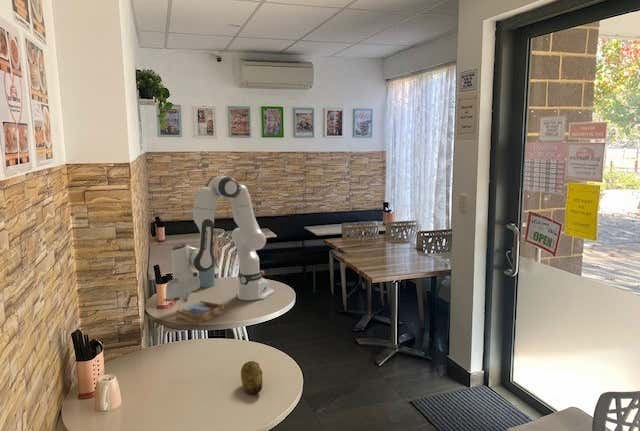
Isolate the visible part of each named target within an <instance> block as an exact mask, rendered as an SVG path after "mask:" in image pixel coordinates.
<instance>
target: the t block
mask: <svg viewBox="0 0 640 431" xmlns="http://www.w3.org/2000/svg"><path fill="white" fill-rule="evenodd" d="M210 310H211V308H207V307H205V303H200V301H199V302H195V303H194V304H191V305H189V306H187V307H184V308H182V309H181V311H184V312H188V313H193V314H197V315H201V314H203V313H206V312H208V311H210Z"/></svg>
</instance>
